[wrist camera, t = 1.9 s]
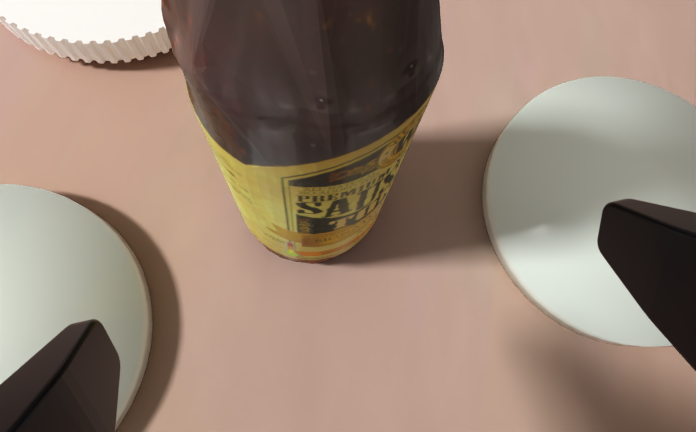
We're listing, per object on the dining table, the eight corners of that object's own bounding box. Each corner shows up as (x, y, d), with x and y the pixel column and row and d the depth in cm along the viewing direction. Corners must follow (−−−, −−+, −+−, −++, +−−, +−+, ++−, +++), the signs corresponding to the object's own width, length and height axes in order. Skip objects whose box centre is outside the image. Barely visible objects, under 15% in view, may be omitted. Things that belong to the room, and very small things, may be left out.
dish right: (777, 170, 24) (801, 161, 22) (693, 404, 20) (716, 408, 19) (549, 47, 25) (560, 33, 24) (434, 248, 22) (440, 243, 20)
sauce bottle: (317, 296, 21) (272, -348, 2) (215, 208, 21) (-624, -907, 2) (407, 191, 22) (932, -762, 3) (309, 113, 23) (253, -1013, 4)
